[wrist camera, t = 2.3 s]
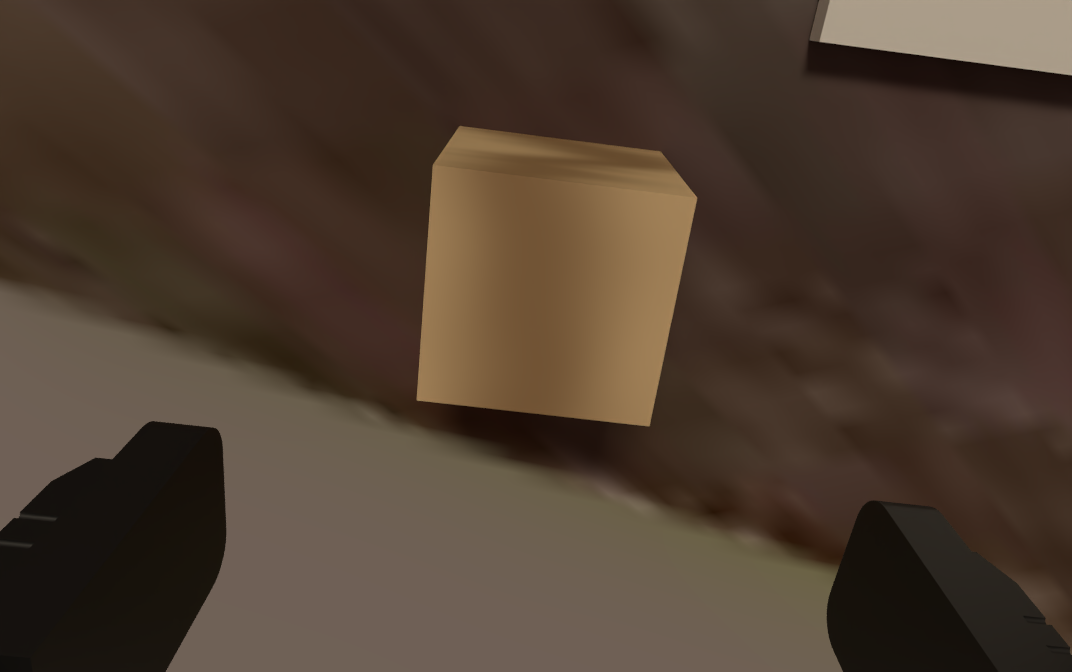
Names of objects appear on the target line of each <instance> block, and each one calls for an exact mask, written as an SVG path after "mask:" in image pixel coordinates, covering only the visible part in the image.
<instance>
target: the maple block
mask: <svg viewBox="0 0 1072 672" xmlns="http://www.w3.org/2000/svg"><path fill="white" fill-rule="evenodd" d="M696 201H697V197H696V196H695V194H694V193H693V192H692V191H691V189H690V188H689V187H688V186H687V184H686V183H685V182H684V181H683V179H682V178H681V177H680V175H679V174H678V173H677V172H676V170H675V169H674V168H673V167H672V165H671V164H670V163H669V162H668V160H667V159H666V158H665V157H664V155H663V154H662V153H661V152H659V151H651V150H643V149H636V148H628V147H620V146H612V145H604V144H596V143H588V142H581V141H573V140H565V139H557V138H549V137H541V136H533V135H526V134H518V133H510V132H502V131H494V130H486V129H478V128H470V127H463V126H459V128H458V129H457V131H456V132H455V134H454V135H453V137H452V138H451V139H450V141H449V142H448V144H447V145H446V147H445V148H444V150H443V151H442V153H441V154H440V155H439V157H438V158H437V160H436V161H435V163H434V164H433V172H432V186H431V201H430V215H429V230H428V245H427V259H426V274H425V288H424V303H423V317H422V332H421V346H420V361H419V375H418V390H417V400H418V401H427V402H436V403H445V404H454V405H463V406H472V407H481V408H490V409H499V410H507V411H516V412H525V413H534V414H543V415H552V416H561V417H570V418H579V419H588V420H596V421H605V422H614V423H623V424H632V425H641V426H650V421H651V416H652V411H653V407H654V402H655V397H656V392H657V388H658V383H659V378H660V373H661V368H662V364H663V359H664V354H665V349H666V345H667V340H668V335H669V330H670V325H671V321H672V316H673V311H674V306H675V302H676V297H677V292H678V287H679V283H680V278H681V273H682V268H683V263H684V259H685V254H686V249H687V244H688V240H689V235H690V230H691V225H692V220H693V216H694V211H695V206H696Z"/></svg>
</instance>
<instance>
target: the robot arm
mask: <svg viewBox="0 0 1072 672" xmlns="http://www.w3.org/2000/svg"><path fill="white" fill-rule="evenodd" d="M225 543H226V513H225V491H224V468H223V446H222V439H221V436H220V433H219V431H218V430H217V429H216V428H210V427H201V426H192V425H182V424H174V423H165V422H155V421H152V422H149V423H147V424H146V425H144V426H143V427H142V428H141V429H140V430H139V431H138V433H137V434H136V435H135V436H134V437H133V438H132V439H131V440H130V441H129V442H128V443H127V444H126V445H125V447H123V449H122V450H121V451H120V452H119V453H118V454H117V455H116V456H115V457H114V458H113V459H103V458H95V459H92V460H91V461H89V462H87V463H85V464H83V465H81V466H79V467H77V468H75V469H74V470H72V471H70V472H68V473H66V474H64V475H62V476H60V477H59V478H57V479H55V480H53V481H51V482H50V483H49V484H48V485H47V486H46V487H45V488H44V489H43V490H42V491H41V492H40V493H39V494H38V495H37V496H36V497H35V498H34V499H33V500H32V501H31V502H30V503H29V504H28V505H27V506H26V507H25V508H24V509H23V510H22V511H21V512H20V516H19V518H14V519H12V521H10V522H9V523H8V524H7V525H6V526H5V527H4V528H3V529H2V530H1V531H0V672H166V670H167V668H168V666H169V664H170V663H171V661H172V659H173V657H174V655H175V653H176V652H177V650H178V648H179V647H180V645H181V643H182V641H183V639H184V638H185V636H186V634H187V632H188V630H189V629H190V626H191V625H192V623H193V621H194V620H195V618H196V616H197V614H198V612H199V610H200V609H201V607H202V605H203V603H204V602H205V600H206V598H207V596H208V594H209V593H210V591H211V589H212V587H213V585H214V583H215V581H216V579H217V576H218V574H219V571H220V568H221V564H222V560H223V556H224V551H225ZM827 627H828V634H829V639H830V642H831V645H832V648H833V650H834V653H835V655H836V657H837V659H838V661H839V664H840V666H841V668H842V670H843V672H1072V655H1071V654H1070V647H1069V646H1068V645H1067V643H1066V642H1065V641H1064V640H1063V639H1062V637H1061V636H1060V635H1059V634H1058V632H1057V631H1056V630H1055V629H1054V628H1053V626H1052V625H1046V623H1045V617H1044V616H1043V614H1042V613H1041V612H1040V611H1039V610H1038V608H1037V607H1036V606H1035V605H1034V603H1033V602H1032V601H1031V600H1030V599H1029V597H1028V596H1027V595H1026V594H1025V593H1024V591H1023V590H1022V589H1021V588H1020V587H1019V585H1018V584H1017V583H1016V582H1014V581H1013V580H1012V579H1011V578H1009V577H1008V576H1007V575H1005V574H1004V573H1003V572H1001V571H1000V570H999V569H997V568H996V567H995V566H994V565H992V564H991V563H990V562H988V561H987V560H986V559H984V558H983V557H982V556H980V555H979V554H978V553H977V552H971V550H970V549H969V548H968V547H967V545H966V544H965V543H964V542H963V540H962V539H961V538H960V537H959V535H958V534H957V533H956V531H955V530H954V529H953V528H952V526H951V525H950V524H949V523H948V521H947V520H946V519H945V518H944V516H943V515H942V514H941V513H940V512H939V511H938V510H937V509H935V508H933V507H929V506H920V505H910V504H901V503H892V502H882V501H869V502H867V503H866V504H865V505H864V506H863V507H862V508H861V510H860V512H859V514H858V516H857V519H856V521H855V524H854V527H853V530H852V533H851V536H850V538H849V541H848V544H847V547H846V550H845V552H844V555H843V558H842V561H841V564H840V567H839V569H838V572H837V575H836V578H835V581H834V583H833V586H832V589H831V592H830V595H829V599H828V606H827Z"/></svg>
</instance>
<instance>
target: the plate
mask: <svg viewBox="0 0 1072 672" xmlns="http://www.w3.org/2000/svg"><path fill="white" fill-rule="evenodd" d="M809 40H810V41H817V42H825V43H832V44H840V45H847V46H855V47H862V48H870V49H877V50H885V51H893V52H900V53H908V54H915V55H923V56H930V57H938V58H945V59H953V60H960V61H968V62H975V63H983V64H991V65H998V66H1006V67H1013V68H1021V69H1028V70H1036V71H1043V72H1051V73H1058V74H1066V75H1072V0H819V2H818V6H817V11H816V15H815V19H814V23H813V27H812V31H811V35H810V39H809Z"/></svg>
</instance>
